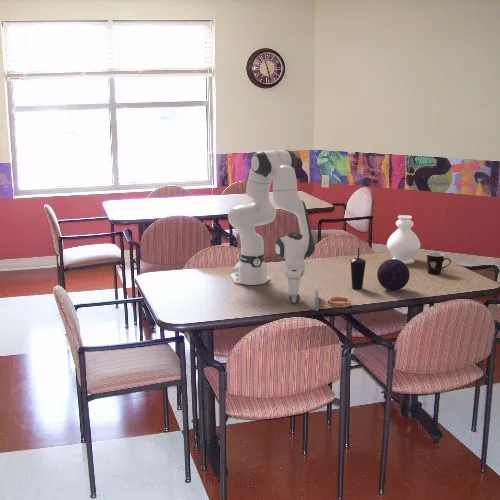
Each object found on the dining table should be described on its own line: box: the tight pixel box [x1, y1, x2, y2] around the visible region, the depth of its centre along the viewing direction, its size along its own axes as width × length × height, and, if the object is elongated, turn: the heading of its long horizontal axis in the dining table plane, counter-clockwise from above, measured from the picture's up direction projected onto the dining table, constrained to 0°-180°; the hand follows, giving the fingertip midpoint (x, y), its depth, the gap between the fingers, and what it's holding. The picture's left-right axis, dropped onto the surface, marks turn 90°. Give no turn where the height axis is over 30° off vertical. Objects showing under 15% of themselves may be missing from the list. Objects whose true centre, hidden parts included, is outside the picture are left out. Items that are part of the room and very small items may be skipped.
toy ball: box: [376, 258, 411, 292], centre depth 332 cm, size 15×15×15 cm
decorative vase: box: [386, 214, 421, 265], centre depth 385 cm, size 18×18×25 cm
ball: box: [288, 293, 301, 304], centre depth 314 cm, size 5×5×5 cm
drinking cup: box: [349, 247, 367, 291], centre depth 335 cm, size 8×8×20 cm
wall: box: [314, 283, 320, 312], centre depth 313 cm, size 20×2×6 cm, turn 175°
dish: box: [327, 295, 352, 309], centre depth 313 cm, size 10×10×2 cm
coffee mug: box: [426, 251, 452, 276], centre depth 361 cm, size 12×9×10 cm
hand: (294, 299), depth 314 cm, fingers closed on ball, 5 cm apart
